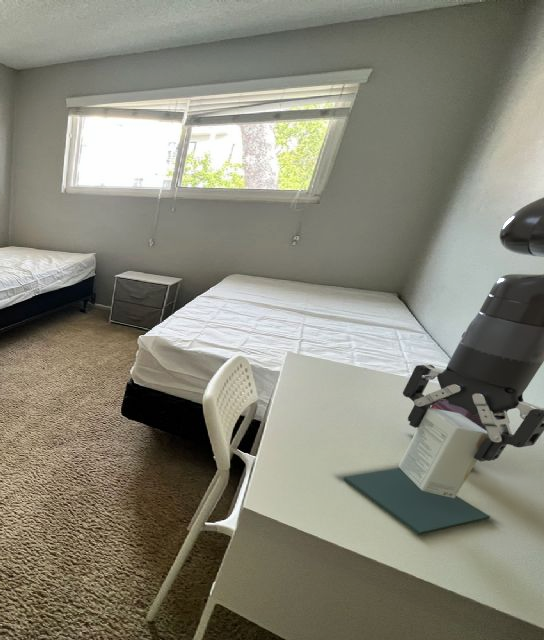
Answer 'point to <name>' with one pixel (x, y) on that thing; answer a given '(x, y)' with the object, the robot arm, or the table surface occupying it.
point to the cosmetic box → (442, 452)
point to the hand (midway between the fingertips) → (445, 441)
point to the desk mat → (414, 502)
